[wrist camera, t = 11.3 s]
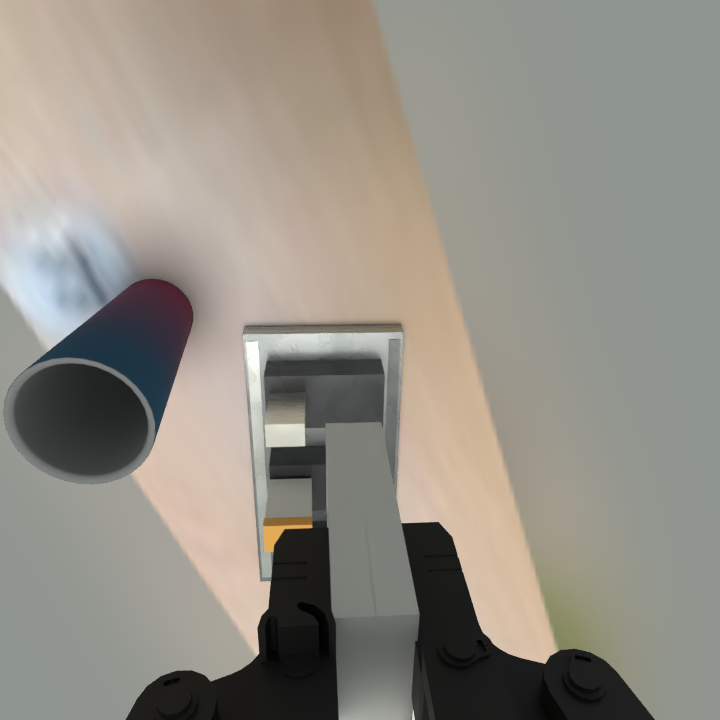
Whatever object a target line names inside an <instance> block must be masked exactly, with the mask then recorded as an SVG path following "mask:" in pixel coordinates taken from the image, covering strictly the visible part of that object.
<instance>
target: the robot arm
mask: <svg viewBox="0 0 720 720" xmlns="http://www.w3.org/2000/svg"><path fill="white" fill-rule="evenodd" d="M325 424H326V505H327V528H300V529H284V531H283V532H282V534H281V535H280V537H279V538H278V540H277V541H276V543H275V544H274V552H273V566H272V575H271V586H270V598H269V609H268V610H267V611H266V612H265V613H264V614H263V615H262V617H261V619H260V622H259V625H258V641H259V655H258V656H257V657H256V658H255V659H254V660H253V661H252V662H251V663H250V664H249V665H247V666H246V667H244V668H243V669H242V670H239V671H237V672H235V673H233V674H231V675H228V676H225V677H222V678H220V679H217V680H214V681H211V682H210V680H208V678H207V677H206V676H205V675H202V674H200V673H197V672H194V671H175V672H172V673H169V674H166V675H163V676H161V677H159V678H158V679H157V680H155V681H154V682H152V683H151V684H150V685H148V686H147V687H146V688H145V690H144V691H143V692H142V693H141V695H140V696H139V697H138V699H137V700H136V702H135V704H134V706H133V708H132V709H131V711H130V713H129V715H128V717H127V718H126V720H412V713H413V710H414V716H415V720H655V719H654V718H653V717H652V716H651V714H650V713H649V712H648V711H647V709H646V708H645V707H644V706H643V704H642V703H641V702H640V701H639V699H638V698H637V697H636V695H635V694H634V693H633V692H632V690H631V689H630V688H629V687H628V685H627V684H626V683H625V682H624V680H623V679H622V678H621V677H620V676H619V674H618V673H617V672H616V671H615V670H614V669H613V668H612V667H611V666H610V665H609V664H608V663H607V662H606V661H604V660H603V659H601V658H599V657H597V656H595V655H594V654H592V653H590V652H586V651H582V650H577V649H568V650H560V651H558V652H557V653H555V654H553V655H551V656H550V657H549V659H548V661H547V662H546V664H543V663H539V662H535V661H530V660H526V659H522V658H519V657H516V656H513V655H510V654H507V653H506V652H504V651H502V650H500V649H499V648H497V647H496V646H495V645H494V644H492V642H491V640H490V639H489V638H488V637H487V636H486V635H485V634H484V633H483V632H482V630H481V628H480V626H479V623H478V620H477V617H476V614H475V610H474V607H473V604H472V600H471V597H470V594H469V591H468V587H467V584H466V581H465V578H464V574H463V572H462V568H461V565H460V561H459V558H458V557H457V551H456V548H455V545H454V542H453V538H452V536H451V535H450V534H449V533H448V532H447V531H446V530H445V529H444V528H443V526H442V525H441V524H440V523H439V522H428V523H401V519H400V514H399V509H398V504H397V499H396V494H395V489H394V484H393V479H392V474H391V469H390V464H389V459H388V454H387V449H386V444H385V439H384V434H383V429H382V424H381V422H362V423H325Z"/></svg>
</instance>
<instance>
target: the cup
mask: <svg viewBox="0 0 720 720" xmlns="http://www.w3.org/2000/svg"><path fill="white" fill-rule="evenodd" d="M192 323H193V312H192V307H191V305H190V303H189V300H188V299H187V298H186V296H185V295H184V294H183V293H182V292H181V291H180V290H179V289H178V288H177V287H175V286H174V285H172V284H170V283H168V282H165V281H161V280H155V279H148V280H142V281H139V282H136V283H134V284H133V285H131V286H130V287H128V288H127V289H126V290H125V291H123V292H122V293H121V294H120V295H118V296H117V297H116V298H115V299H113V300H112V301H111V302H110V303H108V304H107V305H106V306H105V307H103V308H102V309H101V310H100V311H98V312H97V313H96V314H95V315H93V316H92V317H91V318H90V319H88V320H87V321H86V322H85V323H83V324H82V325H81V326H80V327H78V328H77V329H76V330H75V331H73V332H72V333H71V334H70V335H68V336H67V337H66V338H65V339H63V340H62V341H61V342H60V343H58V344H57V345H56V346H55V347H53V348H52V349H51V350H50V351H48V352H47V353H46V354H45V355H43V356H42V357H41V358H40V359H38V360H37V361H36V362H35V363H33V364H32V365H31V366H30V367H28V368H27V369H26V370H25V371H24V372H22V373H21V374H20V375H19V376H18V377H17V378H16V379H15V380H14V382H13V383H12V385H11V386H10V388H9V389H8V392H7V395H6V398H5V401H4V412H3V415H4V421H5V427H6V430H7V432H8V435H9V437H10V439H11V441H12V442H13V444H14V446H15V447H16V449H17V450H18V451H19V452H20V453H21V454H22V455H23V457H24V458H25V459H26V460H27V461H29V462H30V463H31V464H32V465H34V466H35V467H36V468H38V469H39V470H41V471H43V472H45V473H47V474H48V475H50V476H53V477H56V478H58V479H61V480H64V481H68V482H73V483H79V484H99V483H107V482H111V481H114V480H118V479H120V478H122V477H124V476H126V475H128V474H130V473H132V472H133V471H134V470H136V469H137V468H138V467H139V466H141V464H142V463H143V462H144V461H145V459H146V458H147V457H148V455H149V453H150V451H151V449H152V447H153V445H154V442H155V438H156V435H157V432H158V429H159V426H160V423H161V420H162V417H163V414H164V411H165V408H166V404H167V401H168V398H169V395H170V392H171V389H172V386H173V383H174V380H175V377H176V374H177V370H178V367H179V364H180V361H181V358H182V355H183V352H184V349H185V346H186V343H187V340H188V336H189V333H190V330H191V327H192Z"/></svg>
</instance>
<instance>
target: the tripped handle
mask: <svg viewBox="0 0 720 720" xmlns="http://www.w3.org/2000/svg"><path fill="white" fill-rule="evenodd" d="M300 528H312V478H304V479H270V480H269V485H268V494H267V503H266V512H265V518H264V522H263V534H264V550H265V552H274V544H275V543H276V541H277V540H278V538H279V537H280V535H281V534H282V532H283V531H284V529H300Z"/></svg>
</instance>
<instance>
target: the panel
mask: <svg viewBox="0 0 720 720" xmlns="http://www.w3.org/2000/svg"><path fill="white" fill-rule="evenodd" d="M243 345H244V359H245V373H246V387H247V401H248V415H249V429H250V443H251V457H252V471H253V485H254V499H255V513H256V527H257V541H258V555H259V569H260V581H271V575H272V566H273V552H265V550H264V534H263V522H264V518H265V512H266V503H267V494H268V485H269V480H270V479H304V478H312V528H327V505H326V424H325V423H362V422H381V424H382V429H383V434H384V439H385V444H386V449H387V454H388V459H389V464H390V469H391V474H392V479H393V484H394V489H395V494H396V486H397V463H398V441H399V419H400V397H401V374H402V352H403V330H402V327H401V325H329V326H252V327H245V329H244V332H243Z"/></svg>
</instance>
